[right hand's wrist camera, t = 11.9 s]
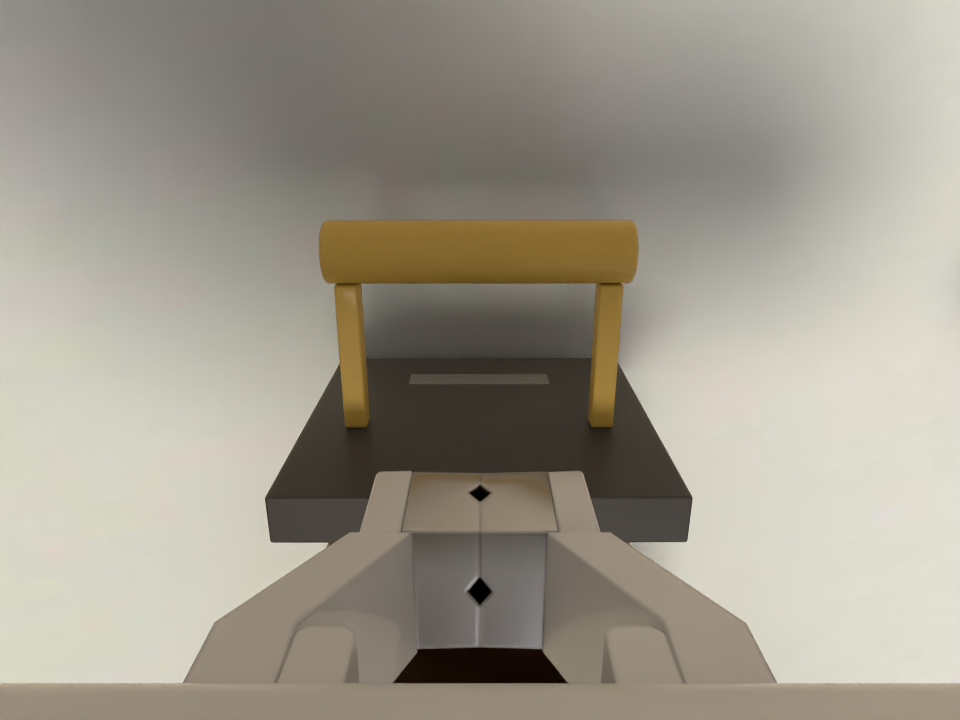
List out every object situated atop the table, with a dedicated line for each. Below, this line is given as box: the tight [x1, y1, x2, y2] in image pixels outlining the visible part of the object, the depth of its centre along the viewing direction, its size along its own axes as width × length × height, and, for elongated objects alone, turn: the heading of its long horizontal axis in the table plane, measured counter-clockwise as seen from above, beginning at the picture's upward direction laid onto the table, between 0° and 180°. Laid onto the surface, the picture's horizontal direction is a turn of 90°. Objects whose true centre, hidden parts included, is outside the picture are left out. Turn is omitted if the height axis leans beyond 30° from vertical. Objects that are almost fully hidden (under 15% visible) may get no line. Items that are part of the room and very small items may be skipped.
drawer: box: [265, 220, 693, 683], centre depth 22 cm, size 26×10×9 cm, turn 0°
